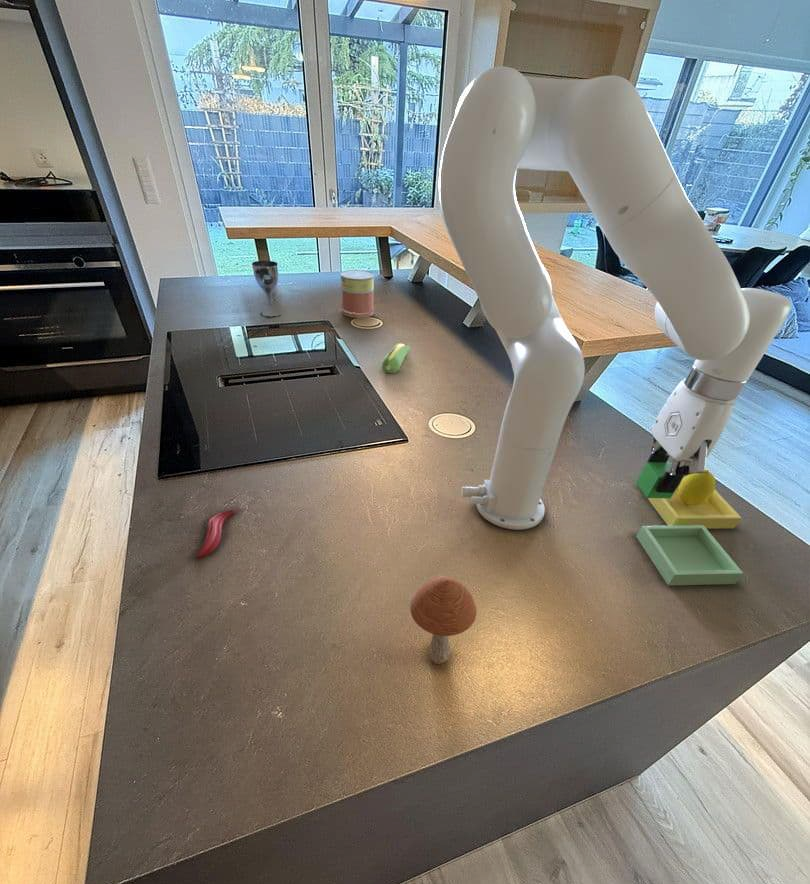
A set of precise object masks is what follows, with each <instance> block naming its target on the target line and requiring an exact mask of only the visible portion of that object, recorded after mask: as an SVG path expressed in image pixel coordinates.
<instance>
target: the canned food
mask: <svg viewBox="0 0 810 884" xmlns="http://www.w3.org/2000/svg"><path fill="white" fill-rule="evenodd" d="M374 278H375V274H374V273H372V272H370V271H367V270H359V269H351V270H349V269H348V270H344V271H341V272H340V293H341V314H343V315H344V316H346V317H348V318H349V317H350V318H358V319H359V318H363V319H364V318H369V317H371V316H373V315H374V313H375V312H374V302H375V301H374V297H375V295H374V289H375V285H374V283H375V281H374V280H375V279H374ZM342 308H343V309H344V310H346V311H349V312H355V313H367V312H370V311H372V310H373V312H371V313H369V314H362V315H356V314H349V313H346V312H344V311H343V310H342Z"/></svg>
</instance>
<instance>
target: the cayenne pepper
mask: <svg viewBox="0 0 810 884" xmlns="http://www.w3.org/2000/svg"><path fill="white" fill-rule="evenodd" d="M235 513H236V510H232V509H231V510H226V511H222V512H219V513H216V515H214V516H212V517H211V518H209V519H208V521H207V530H206V531H207V532H206V535H205V539H204V541H203V542H202V543H203V544H202V545H201V548H200V550H199V552H198V553H197V554H196V555H195V558H197V559H198V558H202V557H204V556H207V555H209V554H210V553H212V552H213V551H214V550H215V549H216V548H217V547H218V545H219V544H220V542H221V540H222V531H223V530H222V529H223V524H224V522H225V521H226V520H227V519H229V518H230V517H231V516H232V515H234V514H235Z"/></svg>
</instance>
